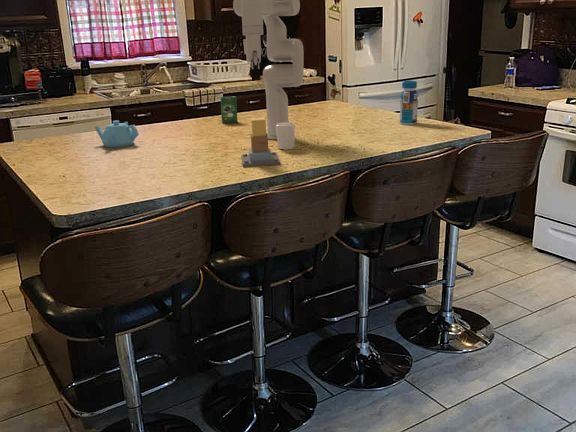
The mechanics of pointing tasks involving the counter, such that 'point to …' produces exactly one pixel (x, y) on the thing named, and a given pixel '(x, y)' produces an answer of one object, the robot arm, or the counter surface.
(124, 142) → the teapot
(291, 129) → the white cup
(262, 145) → the walnut brick
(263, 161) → the build plate
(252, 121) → the mustard brick
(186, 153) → the counter surface
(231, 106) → the coffee box
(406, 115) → the blue capped bottle
